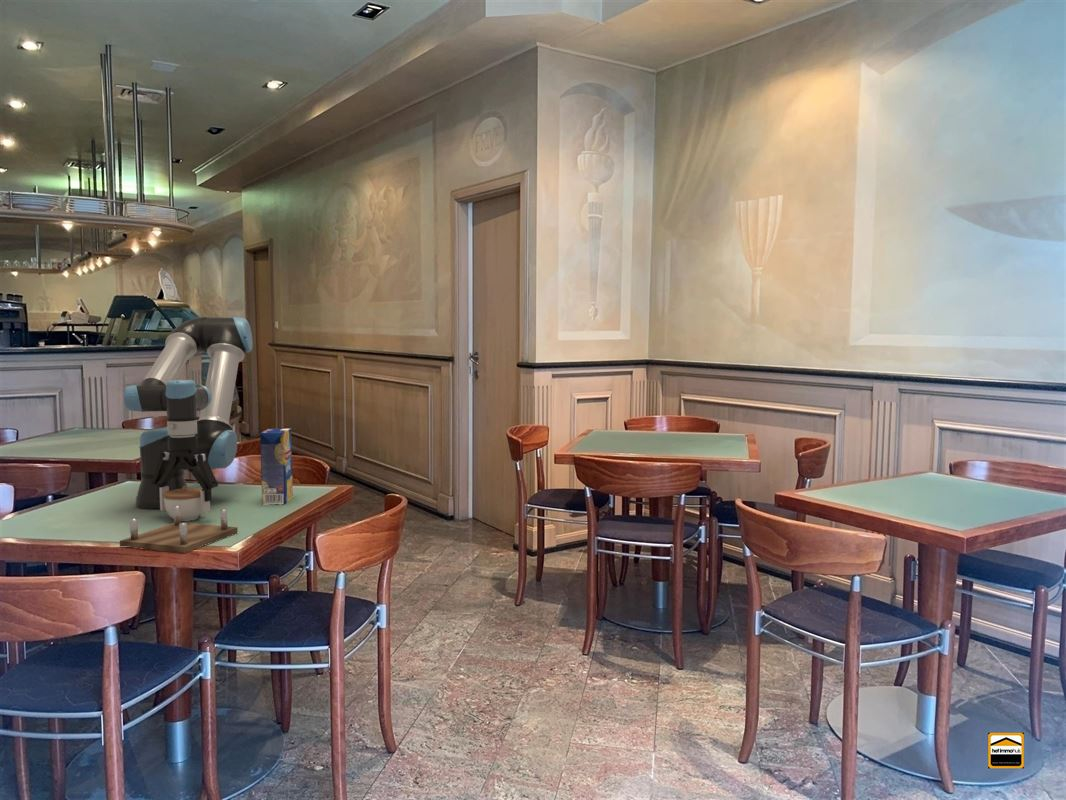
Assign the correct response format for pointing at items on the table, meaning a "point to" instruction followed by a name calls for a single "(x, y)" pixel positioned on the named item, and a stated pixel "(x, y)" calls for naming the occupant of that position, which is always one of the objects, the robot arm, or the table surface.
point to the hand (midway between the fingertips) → (185, 511)
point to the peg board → (178, 537)
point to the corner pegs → (177, 522)
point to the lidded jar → (184, 502)
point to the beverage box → (276, 466)
